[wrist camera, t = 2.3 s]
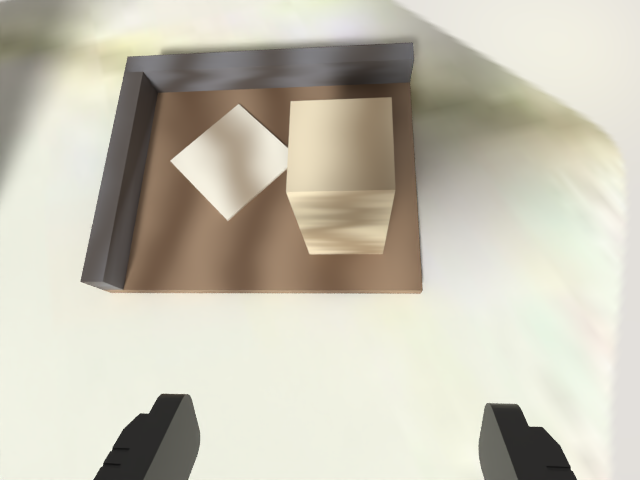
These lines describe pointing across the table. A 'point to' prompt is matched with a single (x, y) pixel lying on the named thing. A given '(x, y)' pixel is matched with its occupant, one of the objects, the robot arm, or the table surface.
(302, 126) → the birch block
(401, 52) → the tray
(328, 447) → the table surface
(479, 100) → the table surface
